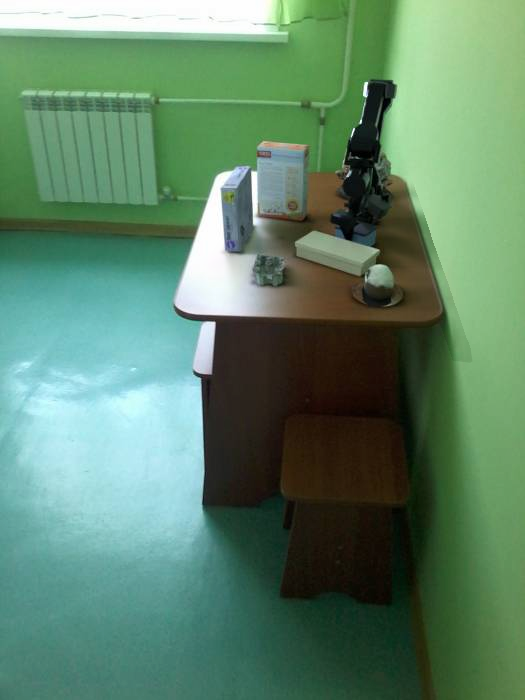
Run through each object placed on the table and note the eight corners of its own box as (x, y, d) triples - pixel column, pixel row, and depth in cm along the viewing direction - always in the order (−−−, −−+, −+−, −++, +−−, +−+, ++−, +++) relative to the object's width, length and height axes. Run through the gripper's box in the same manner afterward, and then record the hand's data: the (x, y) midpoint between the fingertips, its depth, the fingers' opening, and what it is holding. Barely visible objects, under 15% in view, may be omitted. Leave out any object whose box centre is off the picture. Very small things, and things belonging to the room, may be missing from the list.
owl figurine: (333, 200, 196) (337, 145, 186) (334, 187, 205) (338, 134, 196) (391, 202, 194) (398, 147, 184) (389, 189, 203) (396, 136, 194)
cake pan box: (238, 223, 181) (236, 163, 171) (255, 224, 180) (254, 164, 170) (222, 252, 166) (219, 188, 156) (240, 253, 165) (239, 189, 155)
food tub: (346, 234, 175) (347, 217, 172) (375, 243, 170) (377, 226, 167) (333, 243, 170) (334, 226, 167) (363, 252, 166) (365, 234, 163)
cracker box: (307, 214, 186) (310, 144, 174) (302, 222, 182) (304, 150, 170) (263, 208, 190) (263, 139, 178) (256, 216, 185) (256, 145, 173)
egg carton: (282, 287, 150) (282, 272, 148) (251, 285, 151) (251, 270, 149) (285, 266, 159) (286, 252, 157) (256, 264, 160) (256, 250, 157)
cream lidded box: (313, 243, 170) (313, 230, 168) (378, 263, 160) (380, 249, 158) (294, 255, 164) (295, 241, 162) (361, 277, 154) (362, 262, 152)
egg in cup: (346, 276, 152) (377, 248, 148) (374, 302, 156) (406, 276, 151) (348, 299, 142) (382, 270, 138) (378, 327, 146) (413, 299, 141)
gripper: (370, 201, 150) (364, 259, 159) (404, 180, 163) (397, 235, 172) (330, 191, 156) (327, 248, 165) (367, 171, 168) (361, 225, 177)
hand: (354, 239), depth 169 cm, fingers closed on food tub, 6 cm apart
